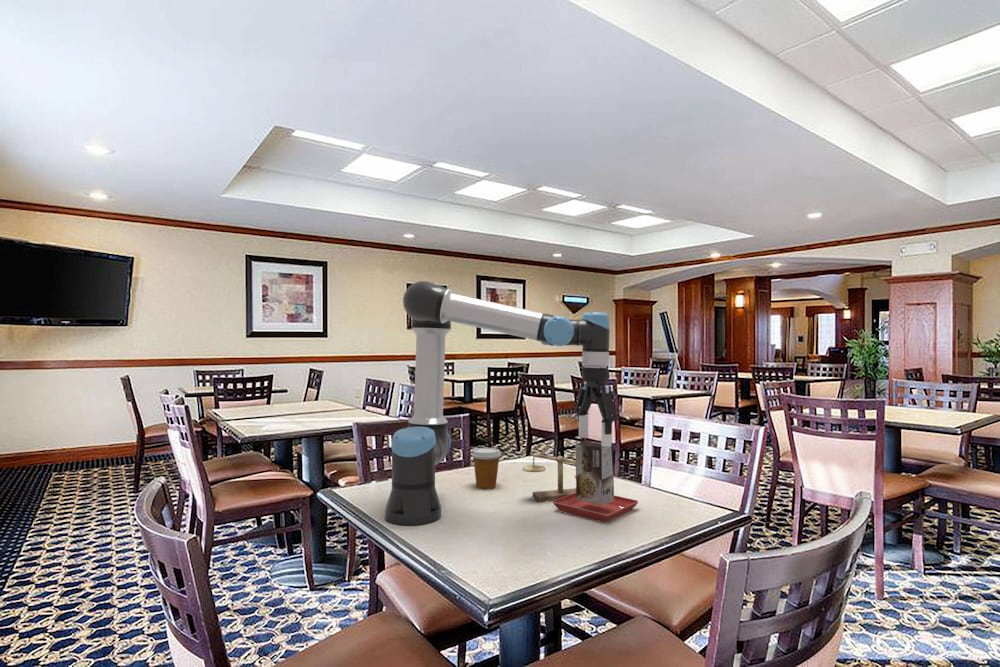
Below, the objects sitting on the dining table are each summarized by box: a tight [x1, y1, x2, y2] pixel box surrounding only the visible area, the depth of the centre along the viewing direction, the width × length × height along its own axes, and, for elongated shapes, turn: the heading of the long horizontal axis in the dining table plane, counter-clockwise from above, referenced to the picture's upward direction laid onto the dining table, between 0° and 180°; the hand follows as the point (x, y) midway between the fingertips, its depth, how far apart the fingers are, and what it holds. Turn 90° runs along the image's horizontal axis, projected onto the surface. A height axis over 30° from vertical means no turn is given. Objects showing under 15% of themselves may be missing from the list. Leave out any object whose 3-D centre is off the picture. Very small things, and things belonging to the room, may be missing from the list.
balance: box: [521, 453, 576, 503], centre depth 168 cm, size 25×7×14 cm, turn 108°
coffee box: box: [574, 440, 615, 505], centre depth 155 cm, size 9×6×16 cm
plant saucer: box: [551, 493, 639, 523], centre depth 155 cm, size 18×18×3 cm
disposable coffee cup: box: [471, 447, 502, 490], centre depth 180 cm, size 10×10×12 cm
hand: (594, 441), depth 155 cm, fingers open, 13 cm apart
